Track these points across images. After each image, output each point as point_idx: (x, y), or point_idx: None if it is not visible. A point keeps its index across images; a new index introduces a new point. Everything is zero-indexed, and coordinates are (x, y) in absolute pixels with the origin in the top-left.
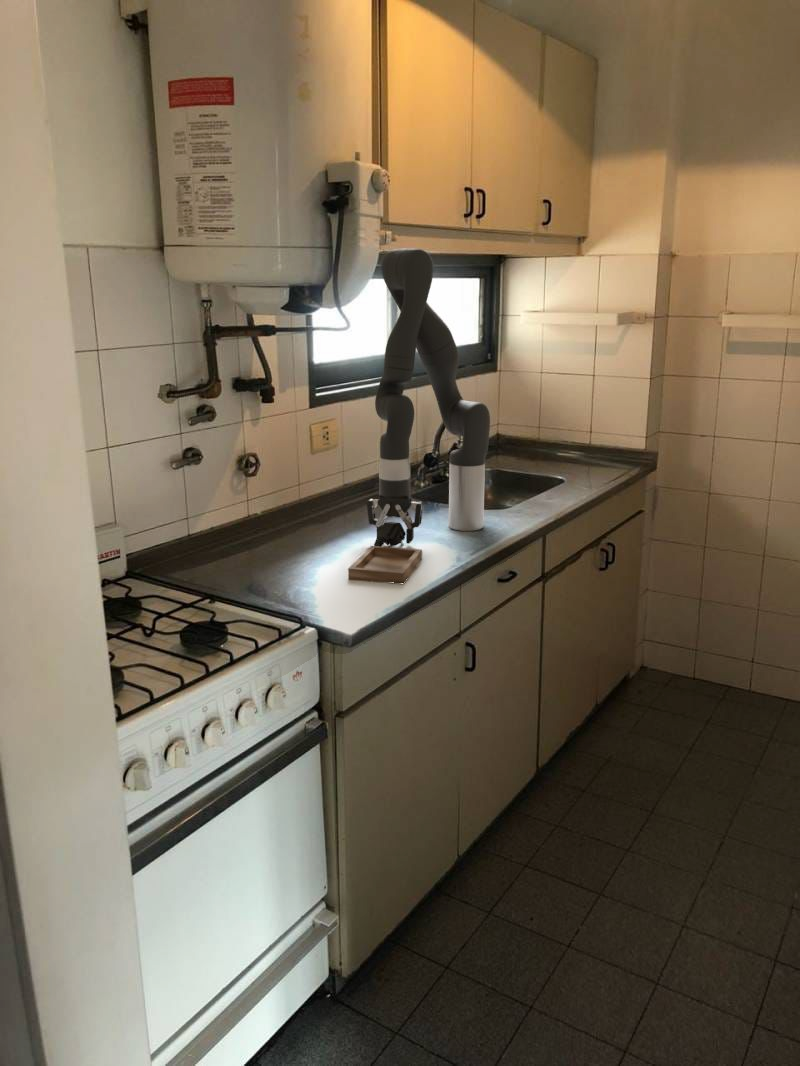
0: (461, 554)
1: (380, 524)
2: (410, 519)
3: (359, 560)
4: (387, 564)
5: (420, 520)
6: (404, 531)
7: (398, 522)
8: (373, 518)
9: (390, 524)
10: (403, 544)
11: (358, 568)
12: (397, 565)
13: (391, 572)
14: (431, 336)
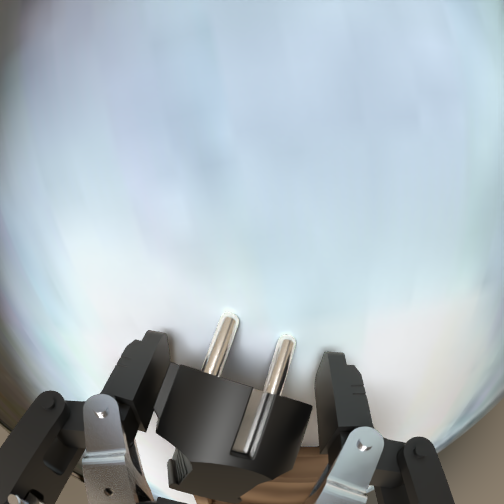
0: (493, 379)
1: (134, 449)
2: (359, 486)
3: (202, 501)
4: (265, 485)
5: (429, 470)
6: (305, 427)
7: (257, 476)
8: (75, 456)
9: (218, 498)
10: (294, 345)
11: None
12: (292, 487)
13: None
14: None
